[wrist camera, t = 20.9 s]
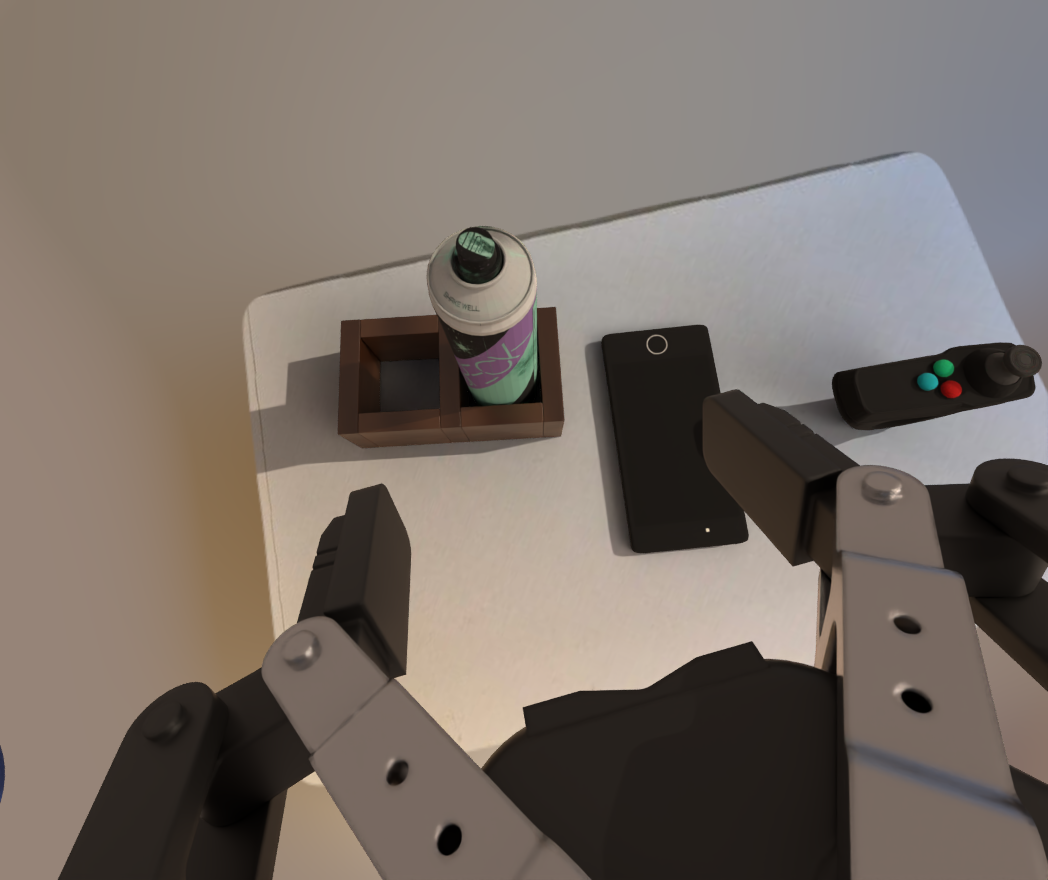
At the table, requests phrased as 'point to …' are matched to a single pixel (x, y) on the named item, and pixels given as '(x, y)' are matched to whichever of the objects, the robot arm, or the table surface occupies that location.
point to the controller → (935, 385)
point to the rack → (455, 418)
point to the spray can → (488, 312)
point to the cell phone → (667, 440)
